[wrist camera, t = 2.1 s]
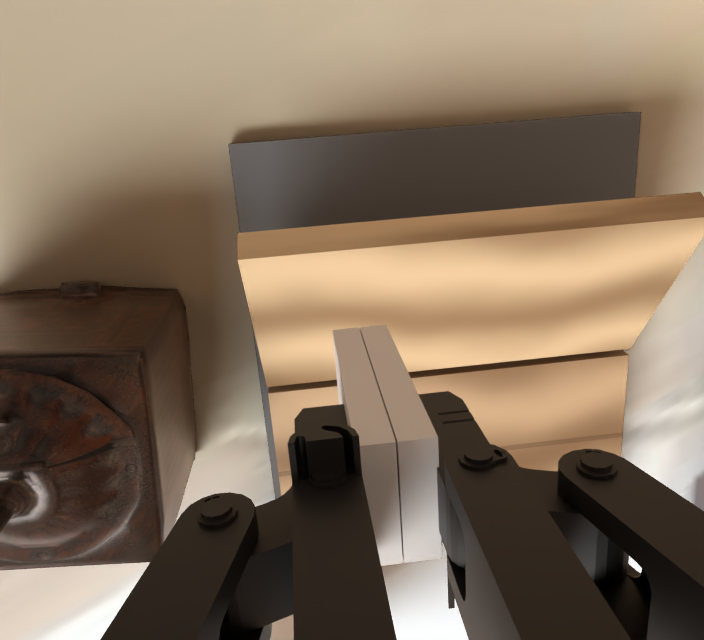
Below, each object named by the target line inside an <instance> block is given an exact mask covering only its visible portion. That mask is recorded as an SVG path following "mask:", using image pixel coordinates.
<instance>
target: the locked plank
mask: <svg viewBox="0 0 704 640" xmlns="http://www.w3.org/2000/svg"><path fill="white" fill-rule="evenodd" d="M628 358H629V355H628V354H626V353H625V352H623V351H622V350H613V351H603V352H594V353H584V354H575V355H565V356H556V357H546V358H537V359H528V360H518V361H509V362H499V363H490V364H480V365H471V366H461V367H452V368H442V369H433V370H423V371H414V372H408V373H409V375H410V377H411V380H412V382H413V384H414V386H415V388H416V390H417V393H418V394H426V393H435V392H445V391H449V392H451V393H453V394H454V395H456V396H458V397H459V398H461V399H463V401H464V403H465V404H466V406H467V407H468V409H469V412H471V414H472V416H473V417H474V421H476V422H477V424H478V425H479V427H480V429H481V430H482V432H483V434H484V435H485V437H486V438H487V440H488V442H489V443H490V444H492V445H496V446H498V447H500V448H503V449H505V450H506V451H507V452H508V453H509V454H511V455H512V456H513V458H514V459H515V461H516V463H517V464H518V466H519V467H522V468H527V469H534V470H546V471H558V461H559V460H560V458H561V457H562V456H563V455H564V454H566V453H568V452H571V451H574V450H581V449H599V450H602V451H606V452H610V453H614V454H616V455H618V456H620V457H621V446H622V435H623V421H624V408H625V396H626V383H627V370H628ZM268 397H269V404H270V412H271V420H272V428H273V435H274V443H275V451H276V459H277V466H278V474H279V482H280V490H281V496H282V495H283V494H285V493H286V492H287V491H288V490H289V489H290V488H291V486H292V477H291V469H290V461H289V453H288V444H287V443H288V441H289V438H290V436H291V435H292V434H294V433H295V424H294V419H295V418H296V417H297V415H298V414H299V413H300V412H301V410H302V409H303V408H311V407H320V406H330V405H339V399H338V388H337V380H329V381H319V382H310V383H300V384H291V385H282V386H272V387H269V389H268Z"/></svg>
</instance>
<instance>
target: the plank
mask: <svg viewBox="0 0 704 640" xmlns="http://www.w3.org/2000/svg"><path fill="white" fill-rule="evenodd" d="M703 236H704V197H703V195H702V194H701V192H695V193H684V194H673V195H661V196H650V197H639V198H627V199H616V200H605V201H594V202H582V203H571V204H560V205H549V206H537V207H526V208H515V209H503V210H492V211H481V212H470V213H458V214H447V215H436V216H424V217H413V218H402V219H391V220H379V221H368V222H357V223H345V224H334V225H323V226H312V227H300V228H289V229H278V230H266V231H255V232H244V233H237V256H238V264H239V268H240V273H241V277H242V281H243V286H244V290H245V294H246V298H247V303H248V307H249V311H250V316H251V320H252V324H253V329H254V333H255V337H256V341H257V346H258V350H259V354H260V359H261V363H262V367H263V371H264V376H265V380H266V384H267V387H272V386H282V385H291V384H300V383H310V382H319V381H329V380H337V377H336V365H335V354H334V343H333V331H332V330H337V329H347V328H357V327H359V330H360V327H367V326H377V325H386V326H387V328H388V330H389V332H390V334H391V336H392V339H393V341H394V343H395V345H396V347H397V349H398V352H399V354H400V356H401V358H402V360H403V362H404V365H405V367H406V369H407V371H408V372H414V371H423V370H433V369H442V368H452V367H461V366H471V365H480V364H490V363H499V362H509V361H518V360H528V359H537V358H546V357H556V356H565V355H575V354H584V353H594V352H603V351H613V350H622V349H630V348H631V347H632V345H633V343H634V342H635V340H636V339H637V337H638V336H639V334H640V333H641V331H642V330H643V328H644V327H645V325H646V324H647V322H648V320H649V319H650V317H651V316H652V314H653V313H654V311H655V310H656V308H657V307H658V305H659V304H660V302H661V301H662V299H663V297H664V296H665V294H666V293H667V291H668V290H669V288H670V287H671V285H672V284H673V282H674V281H675V279H676V278H677V276H678V275H679V273H680V271H681V270H682V268H683V267H684V265H685V264H686V262H687V261H688V259H689V258H690V256H691V255H692V253H693V252H694V250H695V248H696V247H697V245H698V244H699V242H700V241H701V239H702V238H703Z"/></svg>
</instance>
